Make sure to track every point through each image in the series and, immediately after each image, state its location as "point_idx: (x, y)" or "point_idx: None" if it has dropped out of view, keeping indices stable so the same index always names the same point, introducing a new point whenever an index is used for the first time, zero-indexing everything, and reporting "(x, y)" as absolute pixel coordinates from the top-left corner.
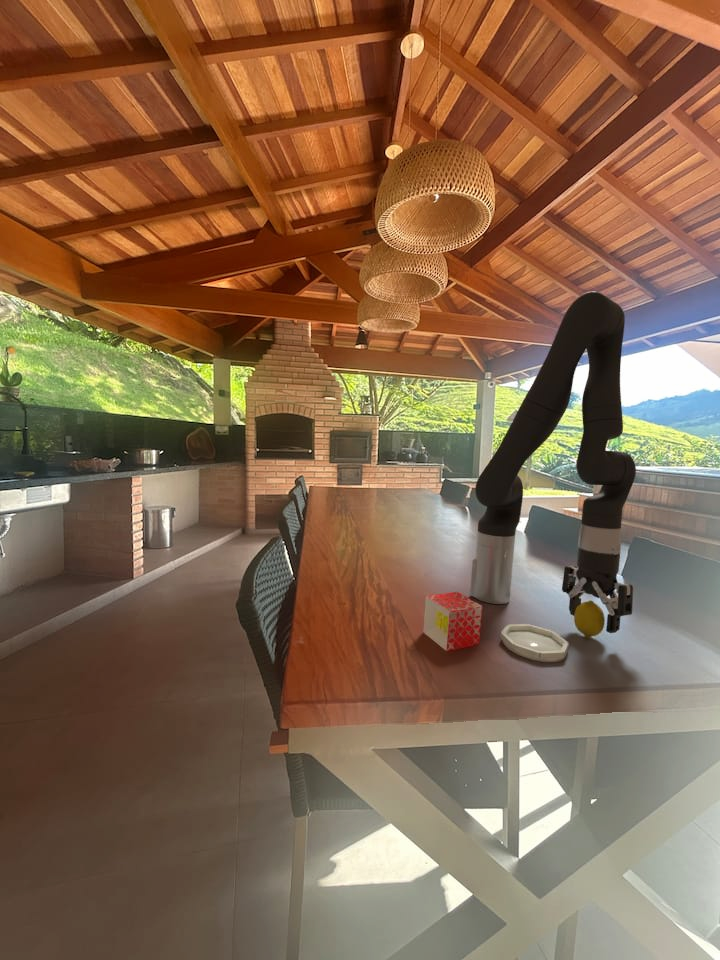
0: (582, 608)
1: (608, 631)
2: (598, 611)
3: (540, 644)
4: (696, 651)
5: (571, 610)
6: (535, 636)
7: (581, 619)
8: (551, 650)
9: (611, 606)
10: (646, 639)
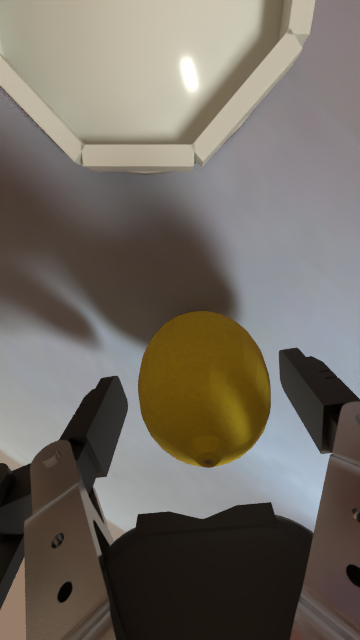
0: (198, 371)
1: (106, 378)
2: (148, 424)
3: (112, 7)
4: (119, 509)
5: (298, 358)
6: (202, 45)
7: (181, 327)
8: (50, 38)
9: (32, 496)
10: (174, 469)
